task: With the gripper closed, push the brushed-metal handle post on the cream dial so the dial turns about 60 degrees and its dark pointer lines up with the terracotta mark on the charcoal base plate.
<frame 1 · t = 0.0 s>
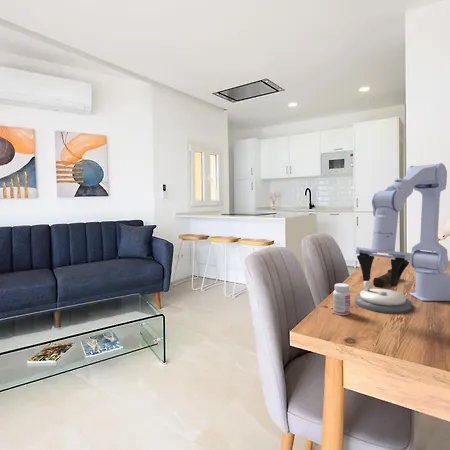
hand: (379, 283, 88), 11 cm above the table, tool pointing down, fingers open, 7 cm apart
dial base: (382, 304, 102), on the table
pill bottle: (341, 313, 96), on the table
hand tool: (385, 283, 128), on the table
dial: (382, 291, 102), point 4 cm above the table, hinge at 0.0°
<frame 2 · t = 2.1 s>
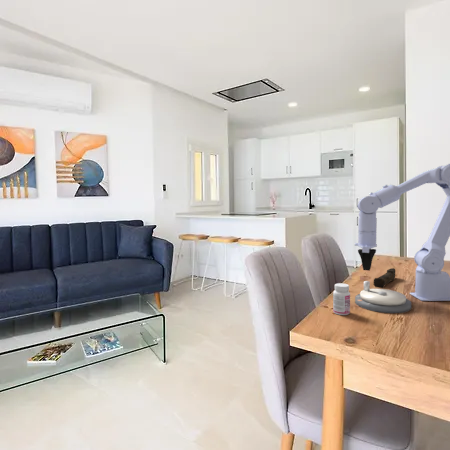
hand: (366, 270, 112), 9 cm above the table, tool pointing down, fingers closed
nothing on the table moved.
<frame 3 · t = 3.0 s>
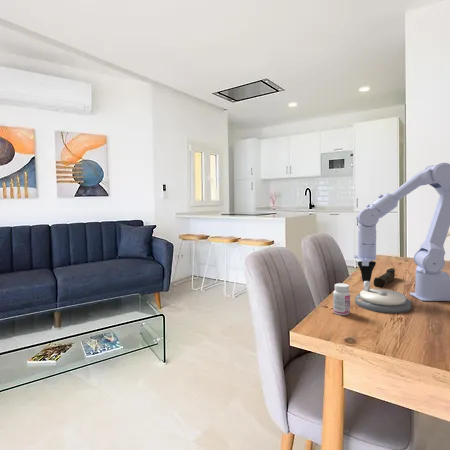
hand: (366, 282, 112), 4 cm above the table, tool pointing down, fingers closed
nothing on the table moved.
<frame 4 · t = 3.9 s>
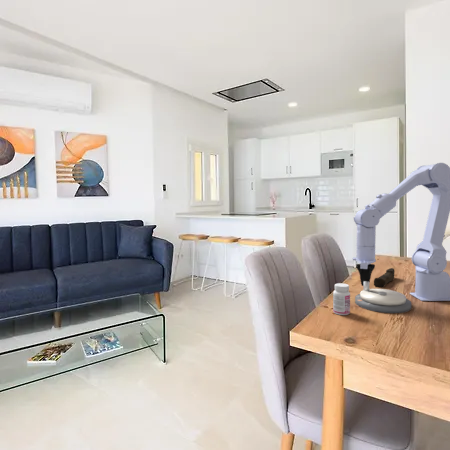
hand: (365, 285, 108), 4 cm above the table, tool pointing down, fingers closed, pressing on dial
dial: (382, 291, 102), point 4 cm above the table, hinge at 1.3°, touching gripper
everything else where it was.
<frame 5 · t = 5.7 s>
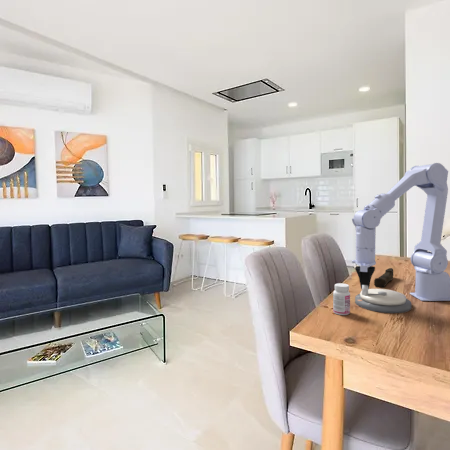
hand: (364, 289, 104), 4 cm above the table, tool pointing down, fingers closed
dial: (382, 291, 102), point 4 cm above the table, hinge at 56.9°
everything else where it was.
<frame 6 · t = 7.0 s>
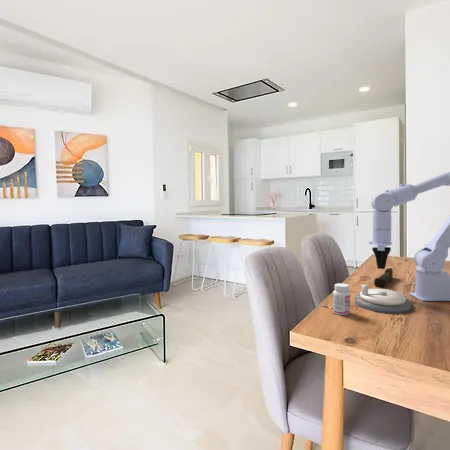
hand: (381, 268, 111), 9 cm above the table, tool pointing down, fingers closed
nothing on the table moved.
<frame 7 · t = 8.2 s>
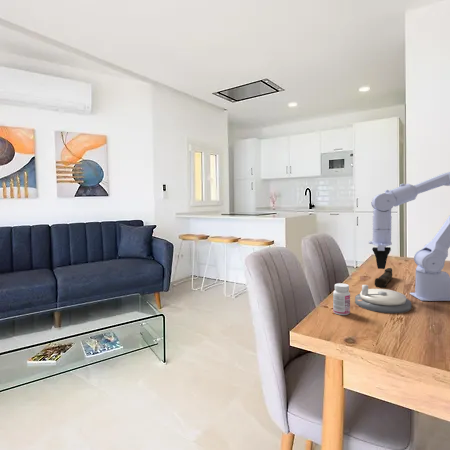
hand: (381, 268, 111), 9 cm above the table, tool pointing down, fingers closed
nothing on the table moved.
at the end: dial at +57° (first picture: +0°); pill bottle moved 0.2 cm from its start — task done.
